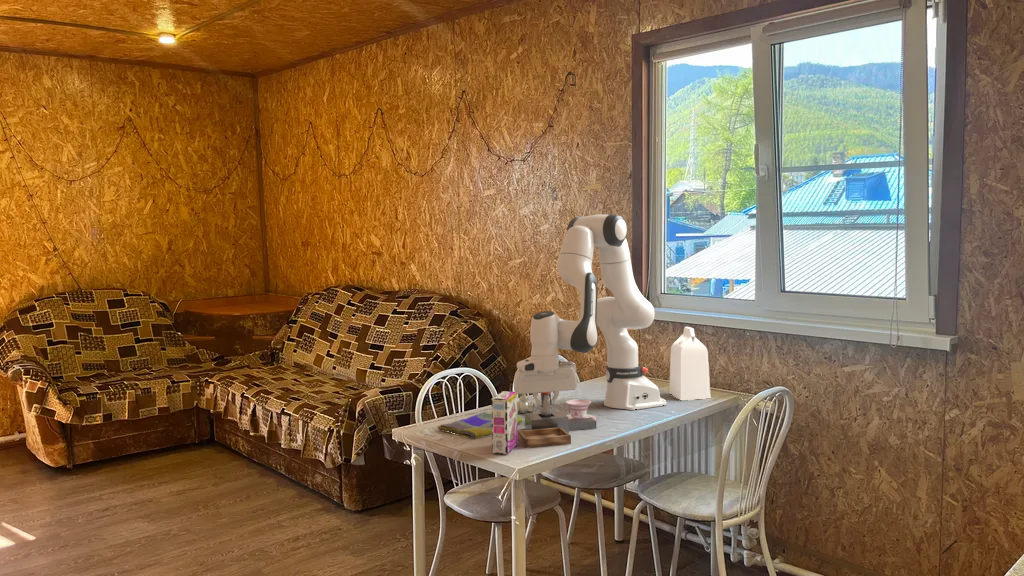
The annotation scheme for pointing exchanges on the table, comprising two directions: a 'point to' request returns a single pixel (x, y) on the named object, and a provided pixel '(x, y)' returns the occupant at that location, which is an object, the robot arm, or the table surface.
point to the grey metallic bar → (546, 404)
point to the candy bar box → (504, 422)
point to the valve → (525, 405)
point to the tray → (544, 437)
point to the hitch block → (557, 422)
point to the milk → (689, 368)
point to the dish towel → (472, 426)
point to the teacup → (578, 408)
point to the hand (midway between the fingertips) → (545, 405)
